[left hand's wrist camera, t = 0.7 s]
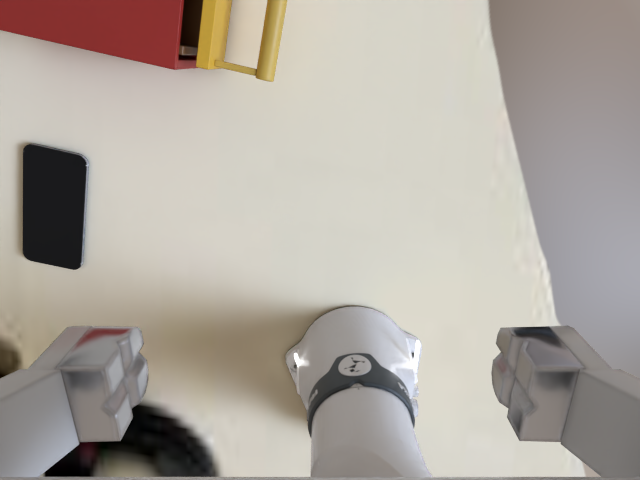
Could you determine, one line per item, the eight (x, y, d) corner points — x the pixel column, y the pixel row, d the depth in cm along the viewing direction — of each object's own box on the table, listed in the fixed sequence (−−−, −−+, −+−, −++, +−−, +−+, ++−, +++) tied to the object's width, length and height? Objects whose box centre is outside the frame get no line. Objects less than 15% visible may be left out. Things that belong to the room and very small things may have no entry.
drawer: (292, -7, 46) (287, -17, 40) (277, 80, 50) (270, 84, 43) (61, -64, 45) (16, -85, 38) (60, 30, 48) (19, 26, 41)
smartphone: (87, 157, 53) (81, 271, 58) (90, 155, 53) (83, 269, 59) (22, 142, 52) (22, 259, 57) (26, 141, 53) (25, 257, 58)
